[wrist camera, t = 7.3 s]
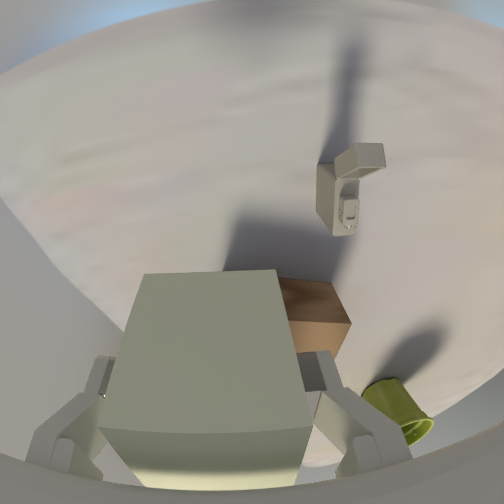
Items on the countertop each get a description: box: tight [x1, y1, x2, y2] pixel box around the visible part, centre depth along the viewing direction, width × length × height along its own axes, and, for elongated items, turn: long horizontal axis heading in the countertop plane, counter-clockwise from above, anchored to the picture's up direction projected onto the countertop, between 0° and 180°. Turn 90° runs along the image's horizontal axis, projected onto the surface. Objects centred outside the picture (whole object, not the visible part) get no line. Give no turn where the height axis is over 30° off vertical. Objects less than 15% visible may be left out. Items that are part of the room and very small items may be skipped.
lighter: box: [316, 143, 386, 236], centre depth 20 cm, size 7×2×8 cm, turn 3°
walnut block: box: [277, 277, 352, 359], centre depth 28 cm, size 10×10×6 cm
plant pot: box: [362, 378, 434, 447], centre depth 36 cm, size 9×9×9 cm
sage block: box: [97, 269, 313, 490], centre depth 9 cm, size 4×4×6 cm
